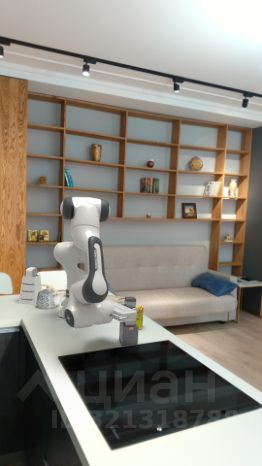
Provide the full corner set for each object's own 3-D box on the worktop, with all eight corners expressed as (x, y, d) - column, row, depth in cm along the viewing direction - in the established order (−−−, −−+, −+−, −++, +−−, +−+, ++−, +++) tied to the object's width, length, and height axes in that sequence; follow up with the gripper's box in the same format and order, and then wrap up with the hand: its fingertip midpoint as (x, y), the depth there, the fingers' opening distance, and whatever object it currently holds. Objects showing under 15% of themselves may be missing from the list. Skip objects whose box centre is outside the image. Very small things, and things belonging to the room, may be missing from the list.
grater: (18, 303, 203) (19, 268, 201) (26, 298, 213) (27, 266, 212) (35, 305, 201) (36, 270, 200) (42, 300, 212) (44, 267, 210)
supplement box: (140, 332, 166) (141, 309, 165) (128, 331, 167) (129, 308, 166) (142, 328, 171) (143, 306, 171) (130, 327, 173) (131, 305, 172)
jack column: (122, 336, 151) (124, 296, 150) (132, 335, 152) (134, 296, 151) (124, 339, 147) (126, 299, 146) (134, 339, 148) (136, 299, 147)
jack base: (109, 340, 154) (110, 320, 153) (140, 339, 157) (141, 319, 157) (114, 351, 142) (115, 329, 142) (147, 350, 146) (149, 328, 145)
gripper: (119, 311, 132) (147, 306, 141) (91, 298, 148) (118, 294, 157) (118, 327, 133) (147, 322, 141) (90, 313, 149) (117, 308, 157)
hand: (131, 307), depth 149 cm, fingers closed on jack column, 5 cm apart
